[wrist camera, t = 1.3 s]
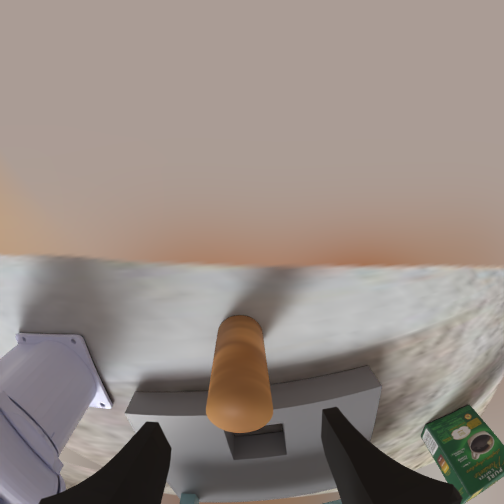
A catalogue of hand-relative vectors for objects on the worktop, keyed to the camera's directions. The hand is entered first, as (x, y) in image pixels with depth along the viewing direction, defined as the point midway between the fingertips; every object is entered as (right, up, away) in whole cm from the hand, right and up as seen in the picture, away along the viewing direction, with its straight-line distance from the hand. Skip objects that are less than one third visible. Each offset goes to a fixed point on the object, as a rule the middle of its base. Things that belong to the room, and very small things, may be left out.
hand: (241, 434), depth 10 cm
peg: (0, +2, +9) cm, 10 cm away
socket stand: (+1, -11, +12) cm, 16 cm away
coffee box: (+25, -13, +14) cm, 31 cm away
